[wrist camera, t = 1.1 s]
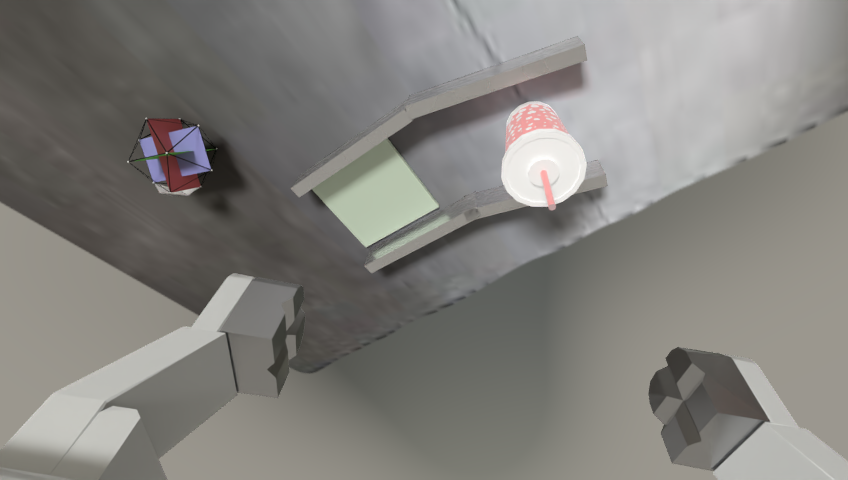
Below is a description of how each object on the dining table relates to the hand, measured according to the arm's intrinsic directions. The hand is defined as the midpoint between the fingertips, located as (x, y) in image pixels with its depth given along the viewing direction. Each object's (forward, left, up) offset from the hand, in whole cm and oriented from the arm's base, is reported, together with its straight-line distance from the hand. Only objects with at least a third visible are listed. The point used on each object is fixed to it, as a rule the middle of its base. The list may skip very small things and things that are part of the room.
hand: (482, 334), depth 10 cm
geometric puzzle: (+30, 0, -32) cm, 44 cm away
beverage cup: (-2, +9, -32) cm, 33 cm away
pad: (+15, +11, -32) cm, 37 cm away
